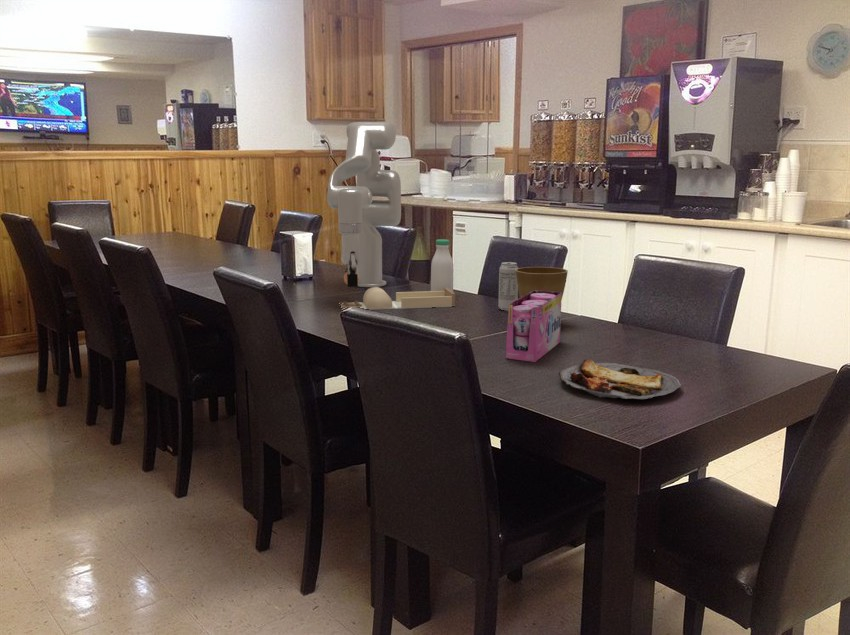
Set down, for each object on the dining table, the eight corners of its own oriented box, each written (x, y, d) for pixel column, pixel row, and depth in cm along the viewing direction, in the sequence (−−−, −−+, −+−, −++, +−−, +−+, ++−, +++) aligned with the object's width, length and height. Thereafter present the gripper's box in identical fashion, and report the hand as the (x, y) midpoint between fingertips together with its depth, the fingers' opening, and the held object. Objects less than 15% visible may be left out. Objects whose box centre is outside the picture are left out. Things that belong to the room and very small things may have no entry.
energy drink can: (519, 308, 247) (521, 262, 244) (513, 312, 241) (515, 265, 238) (501, 307, 249) (503, 261, 246) (495, 310, 244) (496, 263, 241)
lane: (339, 311, 253) (338, 287, 251) (446, 308, 260) (447, 284, 259) (342, 318, 242) (342, 293, 241) (454, 314, 250) (455, 290, 248)
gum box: (534, 364, 183) (536, 308, 180) (503, 360, 186) (504, 305, 183) (560, 342, 204) (562, 291, 201) (531, 339, 207) (533, 289, 204)
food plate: (541, 388, 163) (542, 373, 162) (583, 365, 182) (584, 351, 181) (658, 414, 149) (660, 397, 149) (690, 386, 168) (692, 371, 168)
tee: (339, 304, 250) (339, 300, 250) (360, 303, 252) (360, 300, 252) (341, 308, 244) (341, 304, 244) (363, 307, 245) (363, 304, 245)
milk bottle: (456, 298, 263) (457, 240, 259) (435, 300, 260) (436, 241, 256) (447, 295, 270) (448, 238, 266) (427, 296, 267) (427, 238, 263)
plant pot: (573, 322, 228) (576, 268, 224) (551, 331, 216) (554, 275, 212) (528, 316, 236) (530, 264, 233) (505, 324, 224) (506, 270, 221)
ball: (343, 284, 249) (342, 269, 248) (358, 283, 250) (358, 268, 249) (344, 287, 245) (344, 272, 243) (360, 286, 246) (360, 271, 244)
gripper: (336, 225, 250) (337, 279, 255) (341, 232, 234) (342, 290, 239) (359, 224, 252) (359, 279, 256) (365, 231, 236) (366, 289, 240)
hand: (351, 284), depth 247 cm, fingers closed on ball, 4 cm apart
